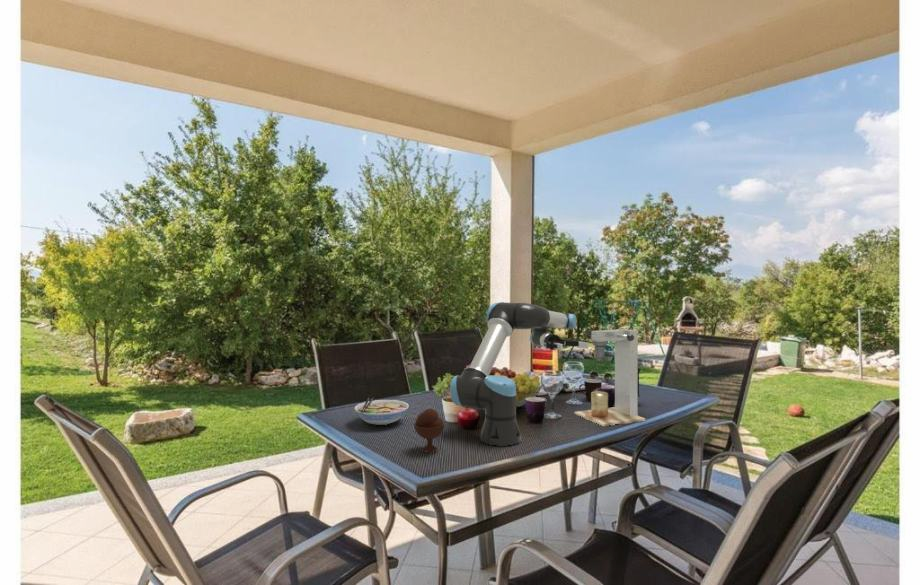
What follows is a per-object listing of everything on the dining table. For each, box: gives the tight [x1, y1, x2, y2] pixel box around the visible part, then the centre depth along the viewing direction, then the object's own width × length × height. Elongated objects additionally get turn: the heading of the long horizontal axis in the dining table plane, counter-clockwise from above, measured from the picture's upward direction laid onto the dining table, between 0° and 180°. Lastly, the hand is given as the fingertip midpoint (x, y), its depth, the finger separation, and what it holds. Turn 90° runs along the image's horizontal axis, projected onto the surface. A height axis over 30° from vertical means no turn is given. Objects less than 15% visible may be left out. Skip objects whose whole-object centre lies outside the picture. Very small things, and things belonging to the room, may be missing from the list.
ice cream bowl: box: [413, 408, 446, 452], centre depth 164 cm, size 11×11×15 cm
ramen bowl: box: [354, 396, 410, 426], centre depth 197 cm, size 25×23×8 cm
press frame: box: [590, 328, 639, 416], centre depth 201 cm, size 19×16×37 cm
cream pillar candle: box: [590, 390, 609, 418], centre depth 202 cm, size 7×7×10 cm
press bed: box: [574, 406, 647, 427], centre depth 204 cm, size 22×20×1 cm
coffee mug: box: [578, 378, 603, 403], centre depth 233 cm, size 12×9×10 cm
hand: (574, 346), depth 212 cm, fingers open, 13 cm apart
